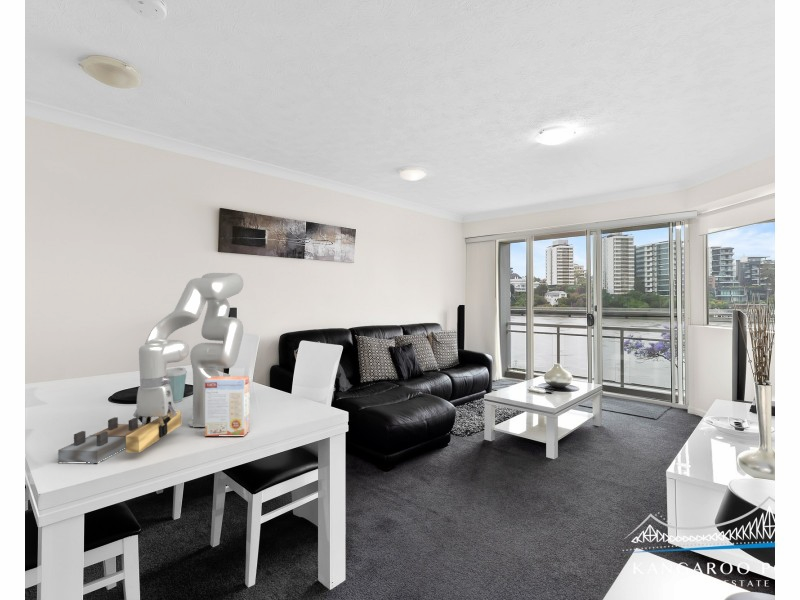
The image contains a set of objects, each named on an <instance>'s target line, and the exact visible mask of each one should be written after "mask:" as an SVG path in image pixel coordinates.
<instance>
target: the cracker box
mask: <svg viewBox="0 0 800 600" xmlns="http://www.w3.org/2000/svg"><path fill="white" fill-rule="evenodd" d="M248 431H249V432H250V376H220V377H210V378H208V379H206V380H205V428H204V436H219V435H245V434H246V433H247V432H248ZM249 432H248V433H249ZM248 433H247V434H248ZM247 434H246V435H247ZM246 435H245V436H246Z"/></svg>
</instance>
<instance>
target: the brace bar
mask: <svg viewBox="0 0 800 600" xmlns="http://www.w3.org/2000/svg"><path fill="white" fill-rule="evenodd" d="M175 412H176V413H177V415H176V416H175V417H173V418H172V419H171V420H170V421H169V422H168V423H167V434H166V435H165V436H167V435H169V434H170V433H171V432H173V431H174V430H176V429H177V428H179V427H180V426H182V411H181V410H175ZM167 415H168V416H170V414H169V413H167ZM159 426H160V421H159V417H156V419H154V420H151V422H150V423H148V424H146V425H145V426H143V427H141V428H140V429H138V430H136V431H134V432H133V433H131V434H129V435H127V436H126V449H125V450H126V453H135V454H137V453H141V452H143V451H144V450H145V449H147V448H148V447H150V446H152V445H153V444H155V443H156V442H158V441H159V440H161V439H162V438H160V437H159Z"/></svg>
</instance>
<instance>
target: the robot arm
mask: <svg viewBox="0 0 800 600" xmlns="http://www.w3.org/2000/svg"><path fill="white" fill-rule="evenodd" d="M243 288H244V279H243V277H242V276H241V274H239V273H235V272H209V273H205V274H204V275H202V276H201V277H197V278H196V277H195V278H192V279H190V280H189V281H188V282H187V284H186V286H185V288H184V290H183V291H182V294H181V296H180V298H179V300H178V302H177V304H176V305H175V308H174V309H173V311H172V312H170V313H168V315H166V316H165V317H164V318H163V319H161V320H160V321H159V322H158V323H156V324H155V325H154V327H153V328H152V329H151V331H150V333H149V334H148V336H147V339H146V341H145V343H144V344H143V345H141V346H140V347H139V348H138V361H139V363H138V364H139V383H140V384H139V385H140V386H138V390H137V393H136V409H135V411H134V413H133V414H132V415H133V418H137V419H138V422H140V423H141V424H142V425H143V426H145V425H146V424H148V423H150V422H152V418H153V417H154V418H159V421H160V426H159V437H160V438H161V439H162V438H164V437H165V436H167V435H168V434H167V423H168V422H169V421H170V420H171V419H172V418H173V417H175V416H176V415H177V413H176V412H175V411H176V410H175V404H174V403H175V402H173V395H172V390H171V387H170V384H167V383H169V382H170V378H167V369H168V368H167V364H171V363H179V362H182V361H183V360H185V359H186V358H187V357H188V355H189V357H190V358H189V360H190V364H191V368H192V419H190V420H189V421H188V427H190V426H193V427H192V428H194V427H205V380H206V379H208V378H210V377H221V376H220V374H219V371H218V369H230V368H232V367H233V366H235V365H236V363H237V360H238V357H239V353H240V349H241V344H242V340H243V335H244V325H243V322H242V321H241V320H240V319H239V318H238V317H233V316H230V317H229V315H230V309H231V307H230V303H229V301H228V298H230V297H231V298H232V297H233V296H236V295H239V294H240V292H241V291H242V290H243ZM206 303H207V308H206V312H205V315H204V319H203V322H202V326H201V330H200V331H201V336H202V338H203V339H204V340H209V341H219V342H222V341H223V342H222V343H217V342H201V343H198V344H195V345H194V346H193V347H192V349H191V350H190V346H189V345H188V343H187V342H185V341H183V340H179V339H168V338H169V337H170V335H171V334H173V333H175V331H177V330H179V329H182V328H184V327H187V326H189V325H191V324H194V323H196V322H197V321H198V320H199V319H200V316H201V314H202V312H203V310H204V307H205V305H206ZM189 353H190V354H189ZM167 413H169V414H170V416H168V415H167ZM166 434H167V435H166Z"/></svg>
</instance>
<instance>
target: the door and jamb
mask: <svg viewBox="0 0 800 600" xmlns="http://www.w3.org/2000/svg"><path fill="white" fill-rule="evenodd" d="M141 427H143V425H142V423H140V424H139V419H137V418H136V417H133V418H130V419H129V420H128V423H119V418H118V416H117V417H112V418H109V419H108V420H107V428H104V429H102V430H99V431H97V432H95V433H93V434H89V436H87V437H86V430H81V431H78V432H76V433H74V434H73V443H71V444H69V445H67V446H64V447H62V448H59V449H58V451H57V455H58V457H57V460H58V461H57V463H58V462H86V463H88V462H90V463H98V462H99V461H101V460H103V459H105V458H107V457H109V456H111V455H113V454H115V453H117V452H119V451H120V450H122V449H124V448H126V436H127V435H129V434H131V433H133V432H134V431H136V430H138V429H140V428H141ZM124 450H125V449H124ZM119 453H120V452H119ZM117 454H118V453H117ZM115 455H116V454H115ZM113 456H114V455H113Z"/></svg>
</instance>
